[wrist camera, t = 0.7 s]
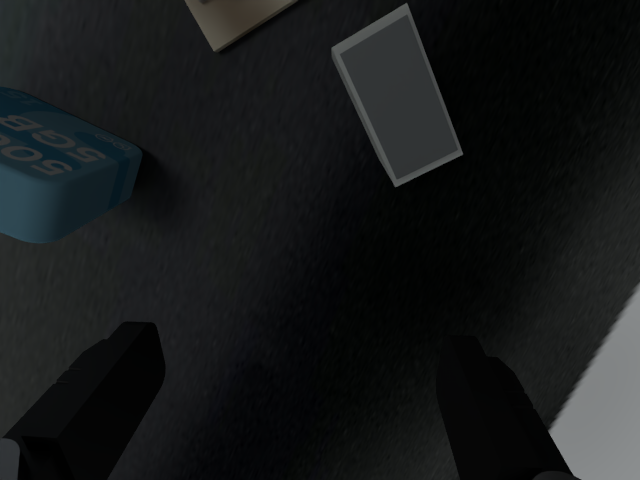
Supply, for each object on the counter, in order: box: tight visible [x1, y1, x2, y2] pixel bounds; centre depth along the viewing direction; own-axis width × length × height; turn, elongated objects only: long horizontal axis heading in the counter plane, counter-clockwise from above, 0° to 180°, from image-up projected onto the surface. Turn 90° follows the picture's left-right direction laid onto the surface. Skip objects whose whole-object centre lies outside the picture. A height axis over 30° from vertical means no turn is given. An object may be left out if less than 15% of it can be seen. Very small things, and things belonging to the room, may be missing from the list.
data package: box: [0, 87, 143, 243], centre depth 26 cm, size 12×4×12 cm, turn 63°
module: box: [332, 3, 463, 187], centre depth 25 cm, size 4×9×9 cm, turn 28°
